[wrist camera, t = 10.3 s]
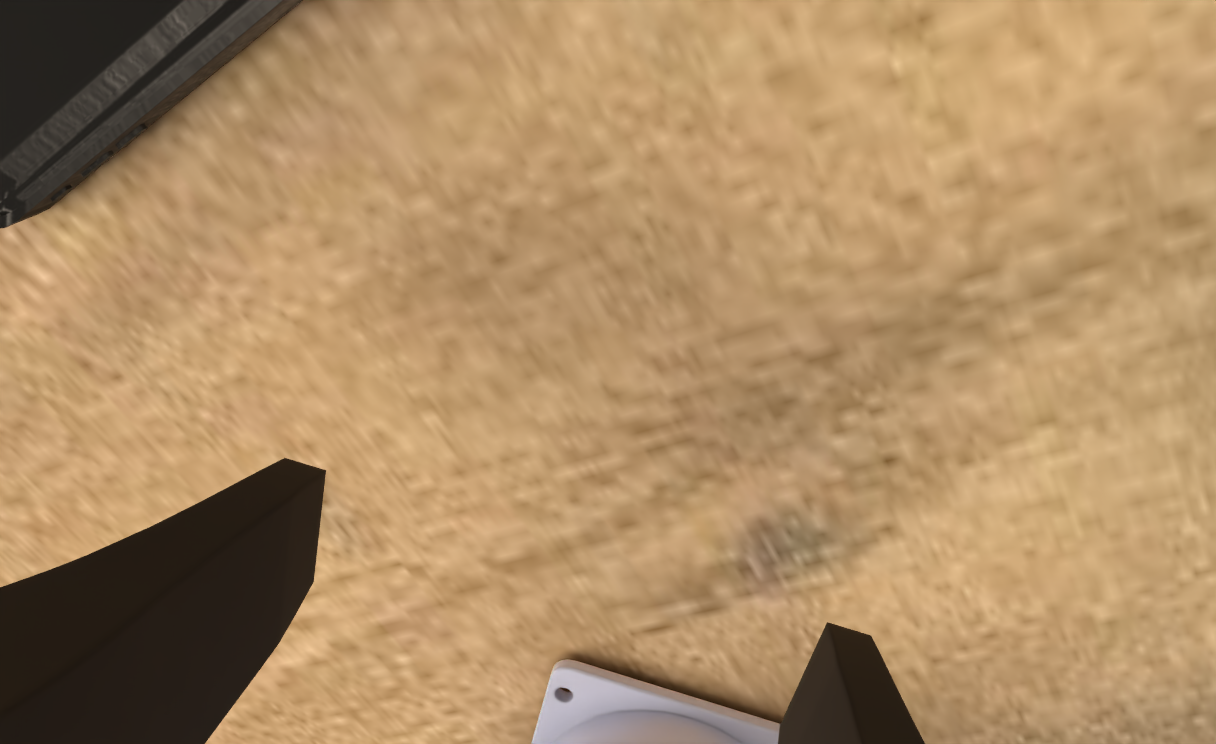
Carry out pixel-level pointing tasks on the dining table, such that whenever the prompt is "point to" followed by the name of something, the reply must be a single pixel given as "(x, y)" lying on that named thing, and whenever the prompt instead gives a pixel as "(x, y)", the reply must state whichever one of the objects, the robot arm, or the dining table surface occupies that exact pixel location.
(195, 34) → the phone
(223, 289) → the dining table surface
